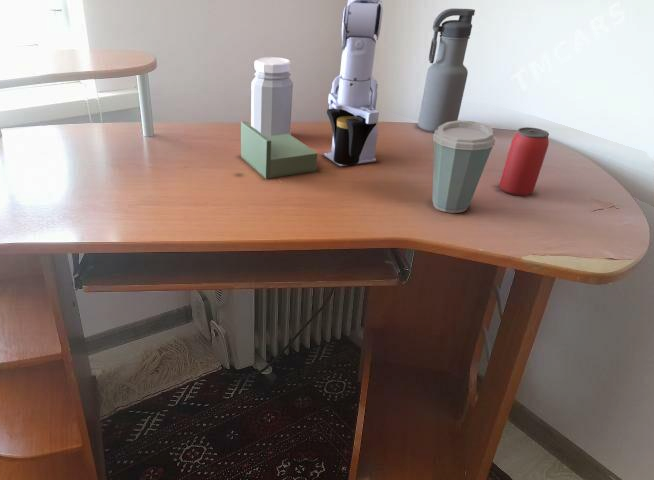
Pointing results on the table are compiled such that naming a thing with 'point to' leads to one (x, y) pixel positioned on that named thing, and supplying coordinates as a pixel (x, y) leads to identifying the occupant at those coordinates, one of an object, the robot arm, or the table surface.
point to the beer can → (524, 161)
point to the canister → (343, 143)
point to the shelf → (275, 153)
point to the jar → (271, 96)
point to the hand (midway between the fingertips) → (347, 150)
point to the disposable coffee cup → (459, 163)
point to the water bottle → (446, 70)
